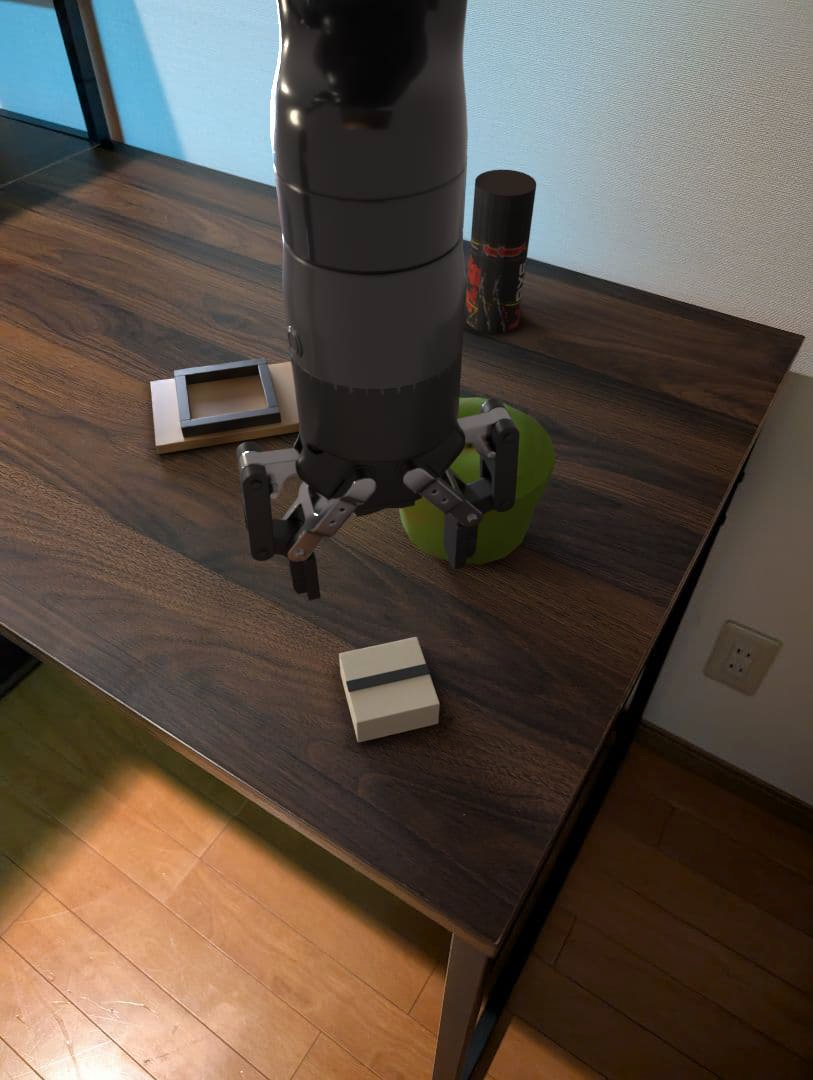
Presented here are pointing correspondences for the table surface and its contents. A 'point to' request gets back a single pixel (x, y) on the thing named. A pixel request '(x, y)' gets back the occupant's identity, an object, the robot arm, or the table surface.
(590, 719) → the table surface
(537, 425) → the apple
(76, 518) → the table surface
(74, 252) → the table surface
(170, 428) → the base pad
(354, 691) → the ivory pad
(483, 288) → the deodorant
